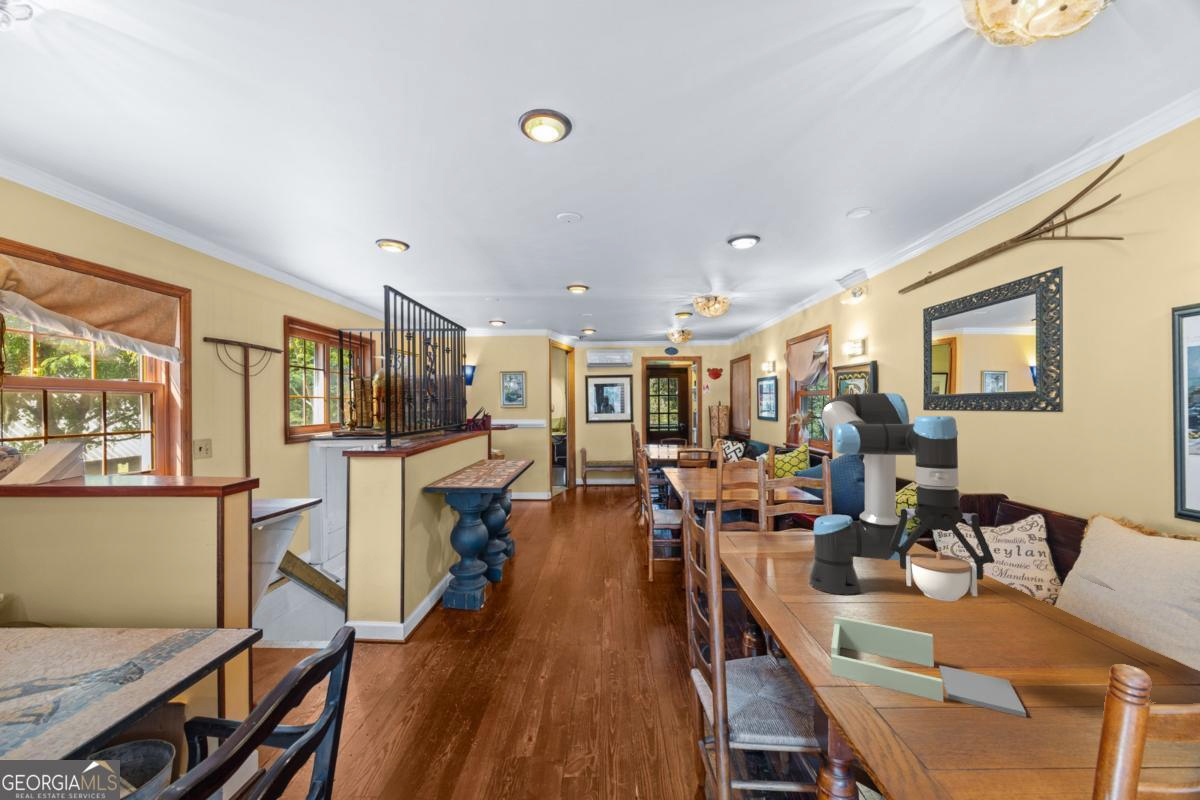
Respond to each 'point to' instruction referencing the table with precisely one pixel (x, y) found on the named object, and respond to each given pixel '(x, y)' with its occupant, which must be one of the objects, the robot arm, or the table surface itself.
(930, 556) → the lidded jar
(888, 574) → the table surface
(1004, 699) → the slate tile
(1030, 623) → the table surface
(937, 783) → the table surface
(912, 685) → the frame
